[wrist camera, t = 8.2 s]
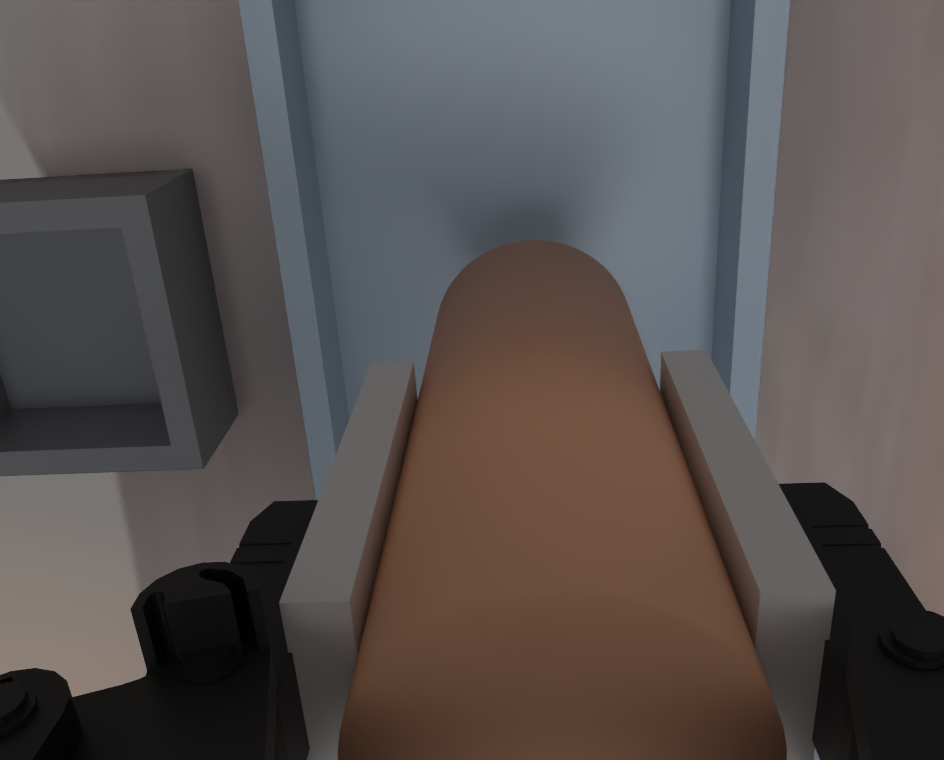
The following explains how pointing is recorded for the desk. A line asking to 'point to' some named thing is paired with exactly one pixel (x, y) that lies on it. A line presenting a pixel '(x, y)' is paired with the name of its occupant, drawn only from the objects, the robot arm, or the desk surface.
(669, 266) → the tray
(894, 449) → the desk surface
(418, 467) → the dowel
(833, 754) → the robot arm
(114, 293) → the grey square open box
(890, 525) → the desk surface
